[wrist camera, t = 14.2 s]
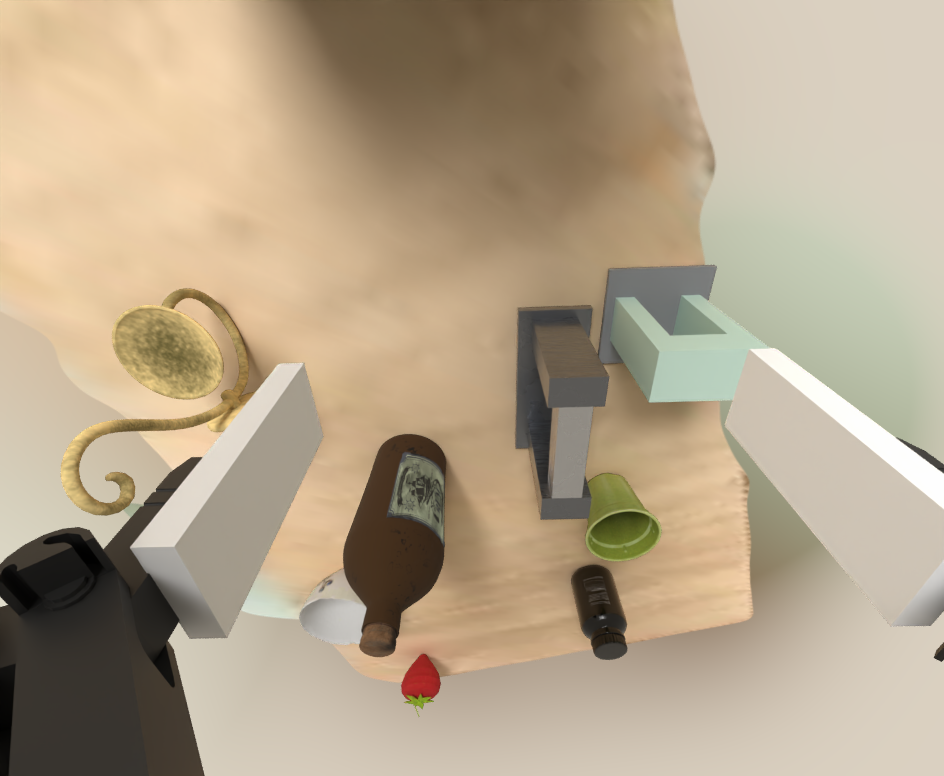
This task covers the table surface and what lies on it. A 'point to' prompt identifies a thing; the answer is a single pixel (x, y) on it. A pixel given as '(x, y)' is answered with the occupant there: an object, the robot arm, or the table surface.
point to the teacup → (334, 611)
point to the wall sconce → (162, 383)
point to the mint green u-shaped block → (682, 350)
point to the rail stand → (557, 404)
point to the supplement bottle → (600, 611)
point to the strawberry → (421, 682)
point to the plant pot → (618, 521)
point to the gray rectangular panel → (652, 296)
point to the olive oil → (396, 537)
